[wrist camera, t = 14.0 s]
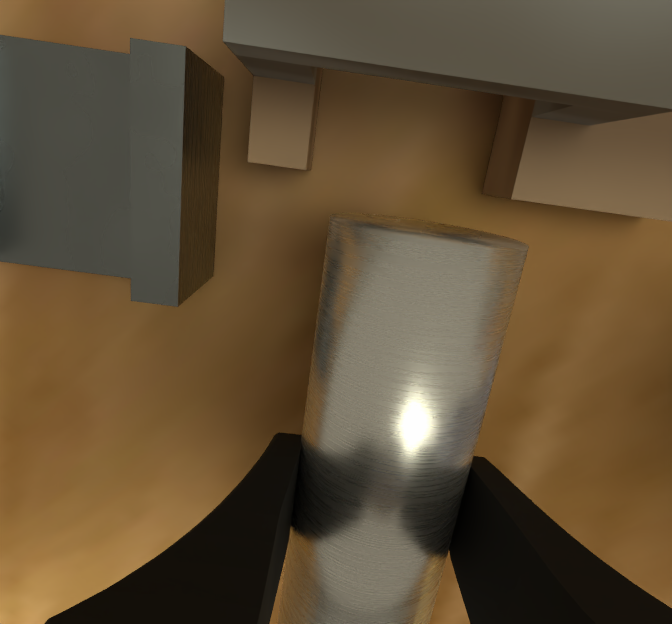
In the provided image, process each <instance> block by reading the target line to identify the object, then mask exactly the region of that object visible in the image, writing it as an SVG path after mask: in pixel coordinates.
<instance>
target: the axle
mask: <svg viewBox="0 0 672 624" xmlns="http://www.w3.org/2000/svg"><path fill="white" fill-rule="evenodd" d="M528 248H529V246H528V245H526V244H525V243H522V242H520V241H517V240H514V239H511V238H507V237H504V236H500V235H496V234H492V233H487V232H483V231H478V230H474V229H469V228H463V227H458V226H453V225H447V224H441V223H435V222H429V221H423V220H416V219H409V218H401V217H393V216H384V215H374V214H361V213H335V214H331V215H330V221H329V229H328V236H327V244H326V252H325V260H324V267H323V275H322V283H321V290H320V298H319V306H318V314H317V321H316V329H315V337H314V345H313V352H312V360H311V368H310V375H309V383H308V391H307V399H306V406H305V414H304V422H303V430H302V437H301V442H302V443H301V451H300V459H299V467H298V474H297V482H296V490H295V498H294V505H293V513H292V521H291V528H290V536H289V542H288V546H287V553H286V561H285V569H284V576H283V584H282V592H281V600H280V607H279V615H278V623H277V624H429V622H430V618H431V615H432V611H433V607H434V603H435V599H436V596H437V592H438V588H439V584H440V580H441V577H442V573H443V569H444V565H445V562H446V558H447V554H448V550H449V546H450V543H451V539H452V535H453V531H454V528H455V524H456V520H457V516H458V512H459V509H460V505H461V501H462V497H463V493H464V490H465V486H466V482H467V478H468V475H469V471H470V467H471V463H472V459H473V456H474V452H475V448H476V444H477V441H478V437H479V433H480V429H481V425H482V422H483V418H484V414H485V410H486V406H487V403H488V399H489V395H490V391H491V388H492V384H493V380H494V376H495V372H496V369H497V365H498V361H499V357H500V354H501V350H502V346H503V342H504V338H505V335H506V331H507V327H508V323H509V319H510V316H511V312H512V308H513V304H514V301H515V297H516V293H517V289H518V285H519V282H520V278H521V274H522V270H523V267H524V263H525V259H526V255H527V251H528Z"/></svg>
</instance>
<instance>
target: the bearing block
mask: <svg viewBox="0 0 672 624" xmlns="http://www.w3.org/2000/svg"><path fill="white" fill-rule="evenodd" d="M223 42H224V43H225V44H226V45H227V46H228V48H229V49H230V50H231V51H232V52H233V53H234V54H235V55H236V56H237V58H238V59H239V60H240V61H241V62H242V63H243V64H244V65H245V66H246V68H247V69H248V70H249V71H250V72H251V73H252V74H253V75H254V79H253V93H252V107H251V121H250V134H249V148H248V162H252V163H259V164H266V165H273V166H280V167H288V168H295V169H302V170H311V167H312V158H313V149H314V140H315V132H316V123H317V114H318V105H319V96H320V87H321V78H322V69H323V68H326V69H333V70H340V71H346V72H353V73H360V74H366V75H373V76H380V77H386V78H393V79H400V80H406V81H413V82H420V83H426V84H433V85H440V86H446V87H453V88H460V89H466V90H473V91H480V92H487V93H493V94H500V95H504V98H503V103H502V107H501V112H500V116H499V120H498V125H497V129H496V134H495V138H494V143H493V147H492V151H491V156H490V160H489V165H488V169H487V174H486V178H485V183H484V187H483V191H482V194H486V195H491V196H497V197H503V198H508V199H515V200H522V201H529V202H536V203H543V204H550V205H557V206H564V207H572V208H579V209H586V210H593V211H600V212H607V213H614V214H621V215H628V216H635V217H643V218H650V219H657V220H664V221H671V222H672V0H225V10H224V29H223Z"/></svg>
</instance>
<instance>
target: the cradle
mask: <svg viewBox="0 0 672 624" xmlns="http://www.w3.org/2000/svg"><path fill="white" fill-rule="evenodd" d="M223 83H224V77H223V76H222V75H221V74H219V73H218V72H217V71H216V70H214V69H213V68H212V67H211V66H209V65H208V64H207V63H206V62H204V61H203V60H202V59H201V58H199V57H198V56H197V55H196V54H194V53H193V52H192V51H191V50H190V49H188V48H187V47H186V46H180V45H174V44H167V43H160V42H153V41H147V40H140V39H133V38H130V54H125V53H119V52H112V51H105V50H98V49H92V48H85V47H78V46H72V45H65V44H58V43H51V42H45V41H38V40H31V39H24V38H18V37H11V36H4V35H0V261H1V262H9V263H17V264H25V265H32V266H40V267H48V268H55V269H63V270H71V271H78V272H86V273H94V274H102V275H109V276H117V277H125V278H131V301H137V302H145V303H153V304H161V305H168V306H176V307H178V306H179V305H180V304H181V303H183V302H184V301H185V300H186V299H187V298H188V297H190V296H191V295H192V294H193V293H194V292H195V291H196V290H198V289H199V288H200V287H201V286H202V285H203V284H205V283H206V282H207V281H208V280H209V279H210V278H211V277H213V270H214V252H215V233H216V214H217V196H218V177H219V158H220V140H221V121H222V102H223Z"/></svg>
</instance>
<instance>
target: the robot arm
mask: <svg viewBox="0 0 672 624" xmlns="http://www.w3.org/2000/svg"><path fill="white" fill-rule="evenodd" d="M301 437H302V435H296V434H288V433H280V432H279V433H277V434H276V435H274V437H273V439H272V441H271V442H270V444H269V446H268V447H267V449H266V450H265V452H264V453H263V454H262V456H261V457H260V459H259V460H258V461H257V463H256V464H255V465H254V466H253V468H252V469H251V470H250V471H249V472H248V474H247V475H246V476H245V477H244V479H243V480H242V481H241V482H240V483H239V484H238V485H237V486H236V487H235V489H234V490H233V491H232V492H231V493H230V494H229V495H228V496H227V497H226V498H225V499H224V500H223V501H222V502H221V503H220V504H219V505H218V506H217V507H216V508H215V509H214V510H213V511H212V512H211V513H210V514H209V515H208V516H207V517H206V518H204V519H203V520H202V521H201V522H200V523H199V524H198V525H196V526H195V527H194V528H193V529H192V530H191V531H189V532H188V533H187V534H186V535H184V536H183V537H182V538H180V539H179V540H178V541H177V542H175V543H174V544H173V545H172V546H170V547H169V548H168V549H166V550H165V551H164V552H162V553H161V554H159V555H158V556H157V557H155V558H154V559H152V560H151V561H149V562H148V563H146V564H145V565H143V566H142V567H140V568H139V569H137V570H135V571H134V572H132V573H131V574H129V575H128V576H126V577H125V578H123V579H122V580H120V581H118V582H117V583H115V584H114V585H112V586H110V587H108V588H107V589H105V590H103V591H101V592H99V593H97V594H96V595H94V596H92V597H90V598H88V599H86V600H84V601H82V602H80V603H79V604H77V605H75V606H73V607H71V608H69V609H67V610H65V611H63V612H61V613H59V614H57V615H55V616H53V617H51V618H49V619H48V620H47V621H46V623H45V624H269V623H270V618H271V614H272V610H273V606H274V601H275V597H276V593H277V589H278V584H279V580H280V576H281V572H282V568H283V563H284V559H285V555H286V550H287V546H288V542H289V536H290V528H291V521H292V513H293V505H294V498H295V490H296V482H297V474H298V467H299V459H300V451H301V443H302V442H301ZM449 551H450V557H451V561H452V564H453V568H454V571H455V574H456V578H457V581H458V584H459V588H460V591H461V594H462V598H463V601H464V604H465V607H466V611H467V614H468V617H469V620H470V624H672V608H670V607H669V606H667V605H666V604H664V603H663V602H661V601H659V600H658V599H656V598H655V597H653V596H652V595H650V594H649V593H647V592H646V591H644V590H643V589H641V588H640V587H638V586H637V585H635V584H634V583H632V582H631V581H630V580H628V579H627V578H625V577H624V576H623V575H621V574H620V573H619V572H617V571H616V570H614V569H613V568H612V567H610V566H609V565H608V564H606V563H605V562H604V561H602V560H601V559H599V558H598V557H597V556H596V555H594V554H593V553H592V552H590V551H589V550H588V549H587V548H585V547H584V546H583V545H582V544H581V543H579V542H578V541H577V540H576V539H575V538H573V537H572V536H571V535H570V534H569V533H567V532H566V531H565V530H564V529H563V528H561V527H560V526H559V525H558V524H557V523H556V522H554V521H553V520H552V519H551V518H550V517H549V516H548V515H546V514H545V513H544V512H543V511H542V510H541V509H540V508H539V507H538V506H537V505H535V504H534V503H533V502H532V501H531V500H530V499H529V498H528V497H527V496H526V495H525V494H524V493H522V492H521V491H520V490H519V489H518V488H517V487H516V486H515V485H514V484H513V483H512V482H511V481H510V480H509V479H508V478H507V477H506V476H504V475H503V474H502V473H501V472H500V471H499V470H498V469H497V468H496V467H495V466H494V465H492V464H491V463H490V462H489V461H488V460H487V459H485V458H484V457H478V456H473V459H472V463H471V467H470V471H469V475H468V478H467V482H466V486H465V490H464V493H463V497H462V501H461V505H460V509H459V512H458V516H457V520H456V524H455V528H454V531H453V535H452V539H451V543H450V546H449Z"/></svg>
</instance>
